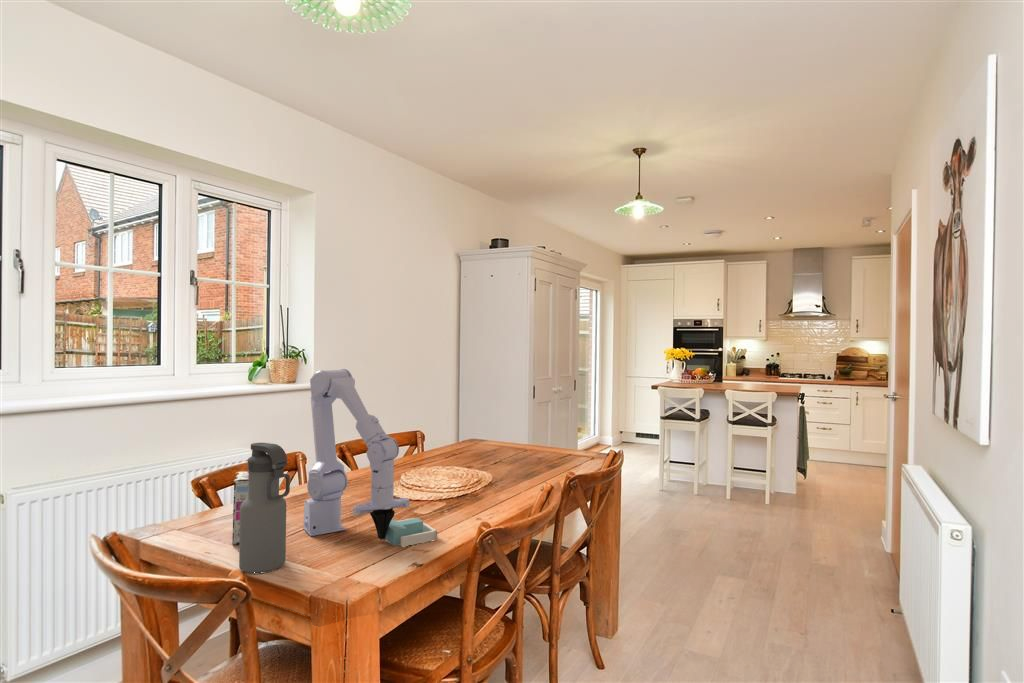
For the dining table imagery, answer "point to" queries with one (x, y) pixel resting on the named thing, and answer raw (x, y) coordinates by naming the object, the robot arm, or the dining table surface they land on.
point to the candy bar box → (239, 502)
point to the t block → (403, 529)
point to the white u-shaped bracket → (419, 536)
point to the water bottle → (264, 511)
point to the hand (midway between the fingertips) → (381, 538)
